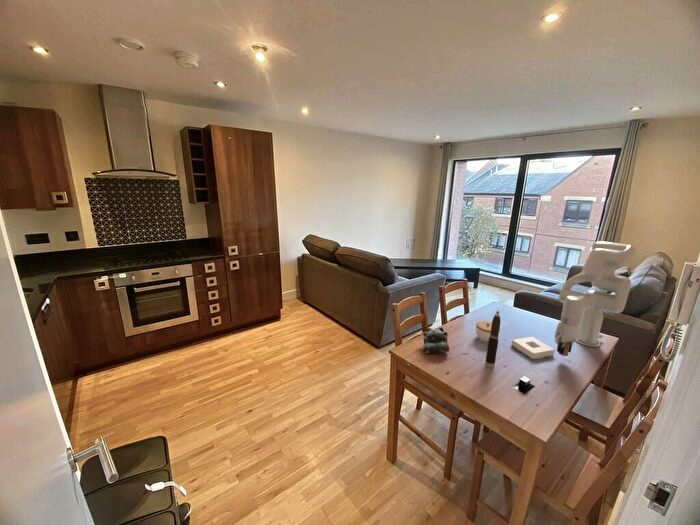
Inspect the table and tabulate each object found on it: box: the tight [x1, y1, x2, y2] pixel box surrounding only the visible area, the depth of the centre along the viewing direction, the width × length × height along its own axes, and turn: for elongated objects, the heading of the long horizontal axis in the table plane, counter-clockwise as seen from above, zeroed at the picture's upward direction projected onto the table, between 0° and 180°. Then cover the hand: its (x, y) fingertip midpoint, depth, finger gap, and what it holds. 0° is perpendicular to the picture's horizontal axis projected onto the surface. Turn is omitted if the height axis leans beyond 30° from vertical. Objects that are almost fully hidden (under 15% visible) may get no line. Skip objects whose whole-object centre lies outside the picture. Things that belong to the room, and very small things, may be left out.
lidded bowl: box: [475, 320, 501, 343], centre depth 169 cm, size 13×13×11 cm
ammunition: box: [484, 310, 501, 369], centre depth 142 cm, size 5×5×30 cm
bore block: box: [511, 336, 555, 361], centre depth 158 cm, size 14×14×4 cm
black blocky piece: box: [512, 375, 536, 395], centre depth 129 cm, size 12×7×5 cm, turn 124°
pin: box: [557, 341, 571, 357], centre depth 147 cm, size 4×4×8 cm
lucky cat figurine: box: [422, 327, 450, 354], centre depth 157 cm, size 15×12×14 cm
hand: (563, 351), depth 148 cm, fingers closed on pin, 4 cm apart
